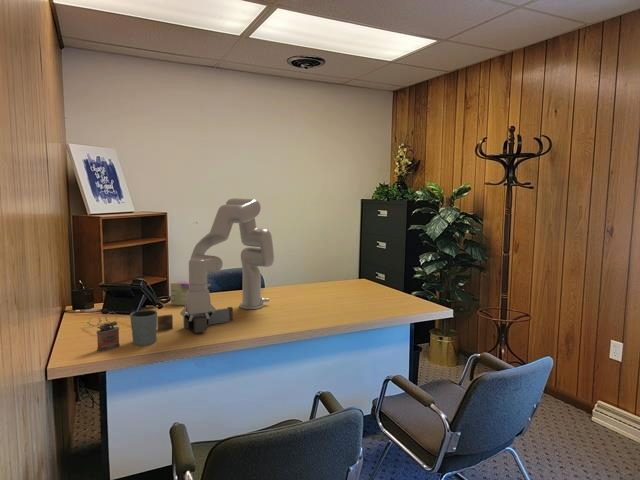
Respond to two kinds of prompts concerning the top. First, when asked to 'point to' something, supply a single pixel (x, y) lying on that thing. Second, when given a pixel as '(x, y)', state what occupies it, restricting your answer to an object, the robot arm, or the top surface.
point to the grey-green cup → (144, 327)
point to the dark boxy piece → (198, 323)
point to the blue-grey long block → (214, 317)
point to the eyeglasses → (105, 318)
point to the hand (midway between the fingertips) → (198, 327)
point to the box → (179, 292)
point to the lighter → (108, 337)
